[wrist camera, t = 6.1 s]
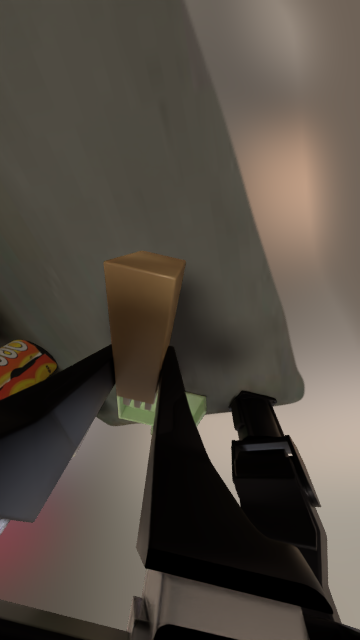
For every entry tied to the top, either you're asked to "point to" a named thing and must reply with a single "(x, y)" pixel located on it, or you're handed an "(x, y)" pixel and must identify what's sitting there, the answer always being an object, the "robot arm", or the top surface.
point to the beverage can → (23, 366)
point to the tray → (146, 417)
